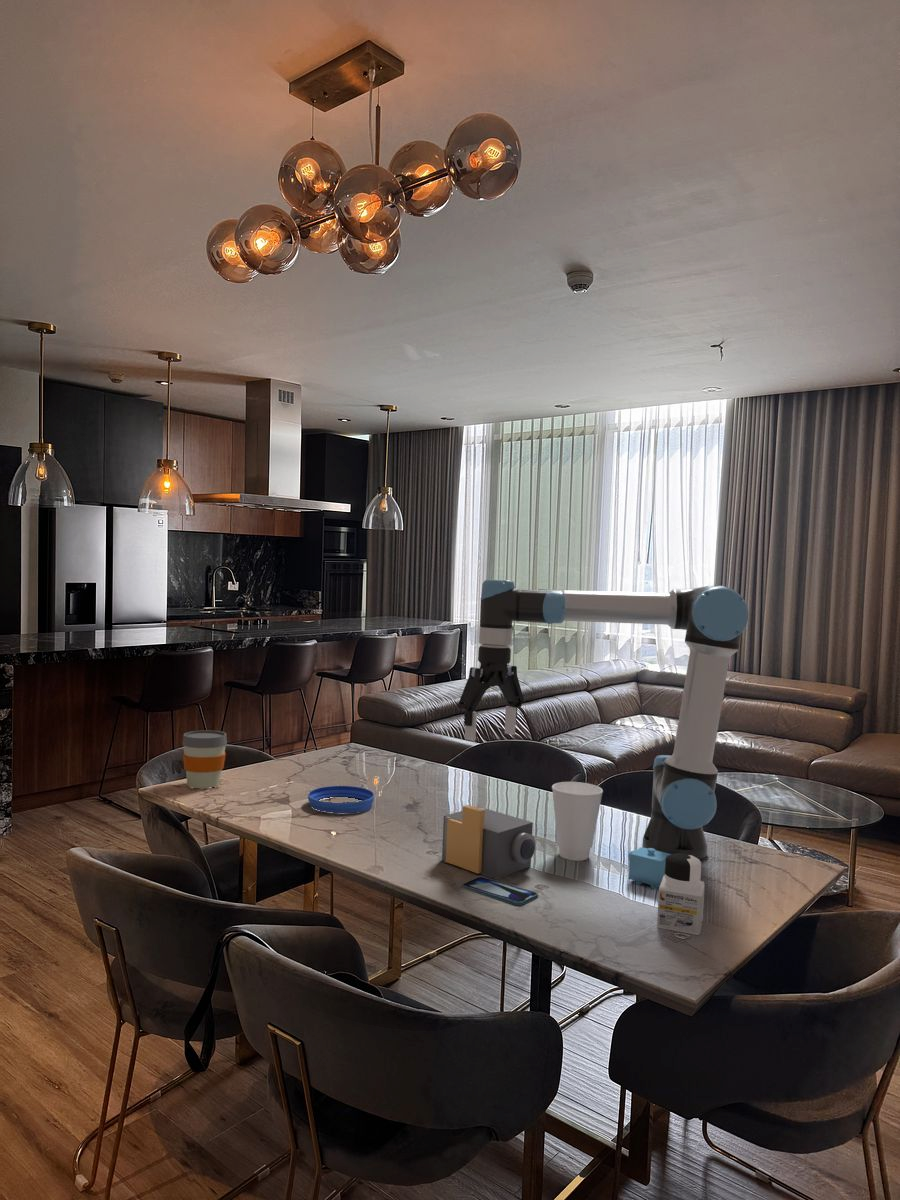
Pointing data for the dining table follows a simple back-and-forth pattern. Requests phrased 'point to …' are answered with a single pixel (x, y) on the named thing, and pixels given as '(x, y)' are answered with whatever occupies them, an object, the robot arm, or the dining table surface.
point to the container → (681, 895)
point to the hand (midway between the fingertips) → (490, 737)
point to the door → (465, 839)
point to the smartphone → (500, 890)
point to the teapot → (647, 866)
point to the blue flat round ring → (341, 791)
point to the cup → (576, 817)
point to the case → (503, 843)
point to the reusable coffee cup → (204, 757)
